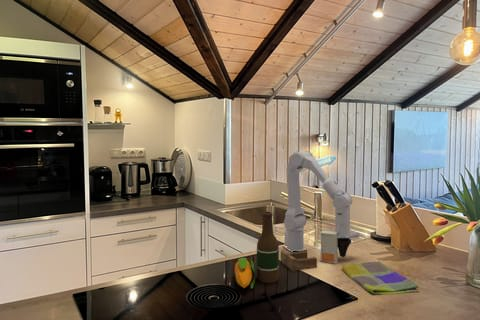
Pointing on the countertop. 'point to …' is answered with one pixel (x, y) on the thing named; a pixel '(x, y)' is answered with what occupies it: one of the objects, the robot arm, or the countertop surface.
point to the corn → (244, 272)
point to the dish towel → (379, 278)
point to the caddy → (298, 260)
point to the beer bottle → (267, 252)
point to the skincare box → (329, 246)
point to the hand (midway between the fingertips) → (342, 256)
